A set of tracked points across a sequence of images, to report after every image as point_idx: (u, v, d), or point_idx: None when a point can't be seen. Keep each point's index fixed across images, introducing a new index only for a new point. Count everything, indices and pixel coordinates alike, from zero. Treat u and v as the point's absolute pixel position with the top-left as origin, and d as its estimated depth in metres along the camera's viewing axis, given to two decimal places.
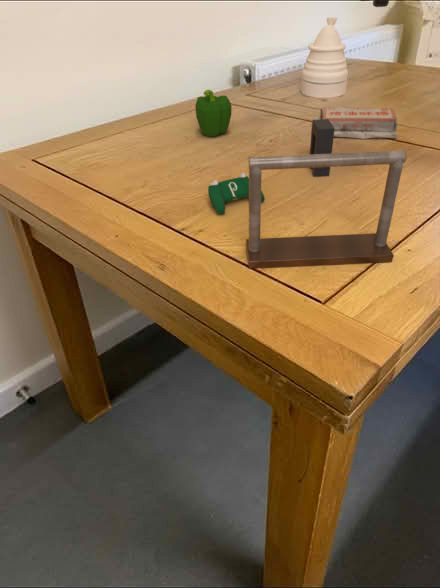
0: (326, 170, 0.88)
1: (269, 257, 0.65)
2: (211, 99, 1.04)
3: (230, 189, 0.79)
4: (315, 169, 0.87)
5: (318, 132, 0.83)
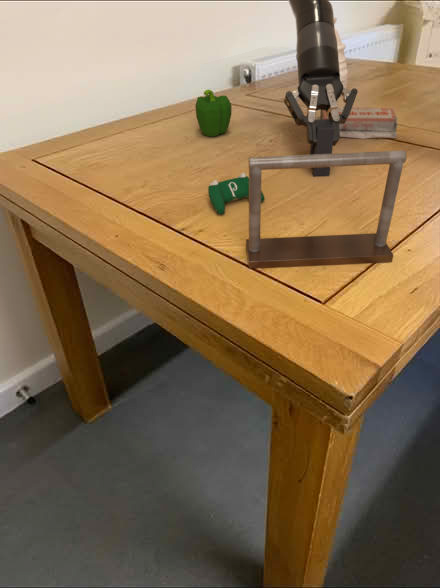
0: (326, 170, 0.88)
1: (269, 257, 0.65)
2: (211, 99, 1.04)
3: (230, 189, 0.79)
4: (315, 169, 0.87)
5: (318, 132, 0.83)
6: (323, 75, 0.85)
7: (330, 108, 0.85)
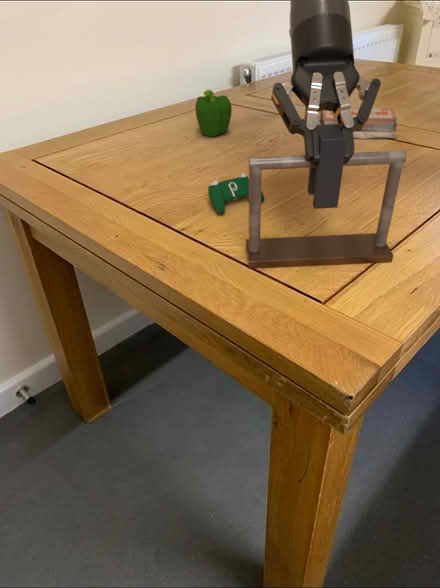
0: (333, 200, 0.59)
1: (269, 257, 0.65)
2: (211, 99, 1.04)
3: (230, 189, 0.79)
4: (317, 198, 0.59)
5: (322, 144, 0.55)
6: (330, 59, 0.57)
7: (340, 108, 0.56)
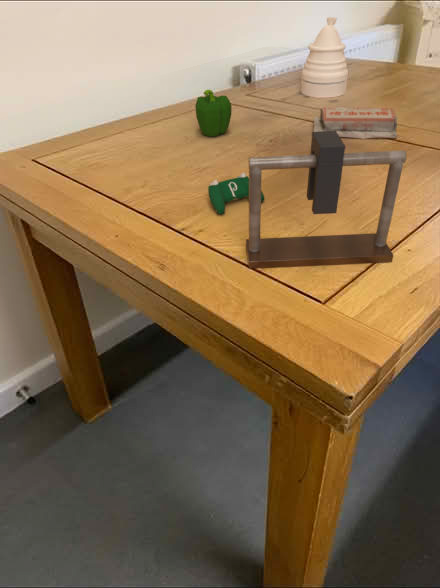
0: (332, 206, 0.60)
1: (269, 257, 0.65)
2: (211, 99, 1.04)
3: (230, 189, 0.79)
4: (316, 204, 0.60)
5: (321, 151, 0.55)
6: None
7: None
